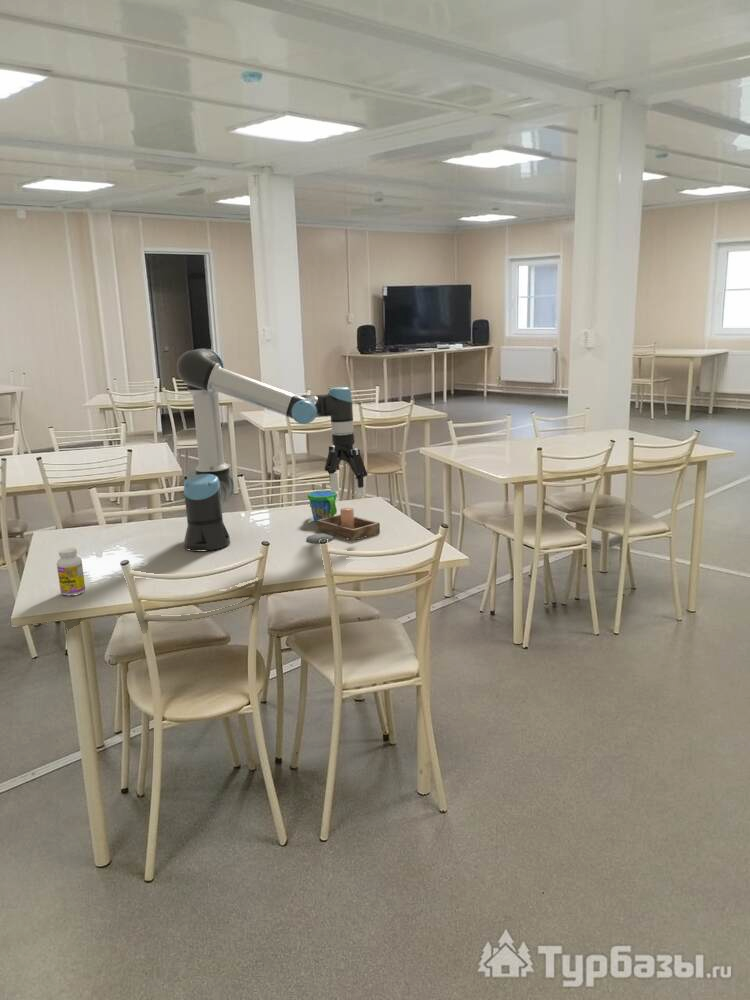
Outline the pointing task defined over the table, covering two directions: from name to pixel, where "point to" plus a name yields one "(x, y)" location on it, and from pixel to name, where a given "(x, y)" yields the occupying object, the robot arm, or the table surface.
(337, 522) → the tray
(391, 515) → the table surface
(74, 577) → the supplement bottle
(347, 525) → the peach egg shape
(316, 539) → the slate coaster
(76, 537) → the table surface
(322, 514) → the snack cup
